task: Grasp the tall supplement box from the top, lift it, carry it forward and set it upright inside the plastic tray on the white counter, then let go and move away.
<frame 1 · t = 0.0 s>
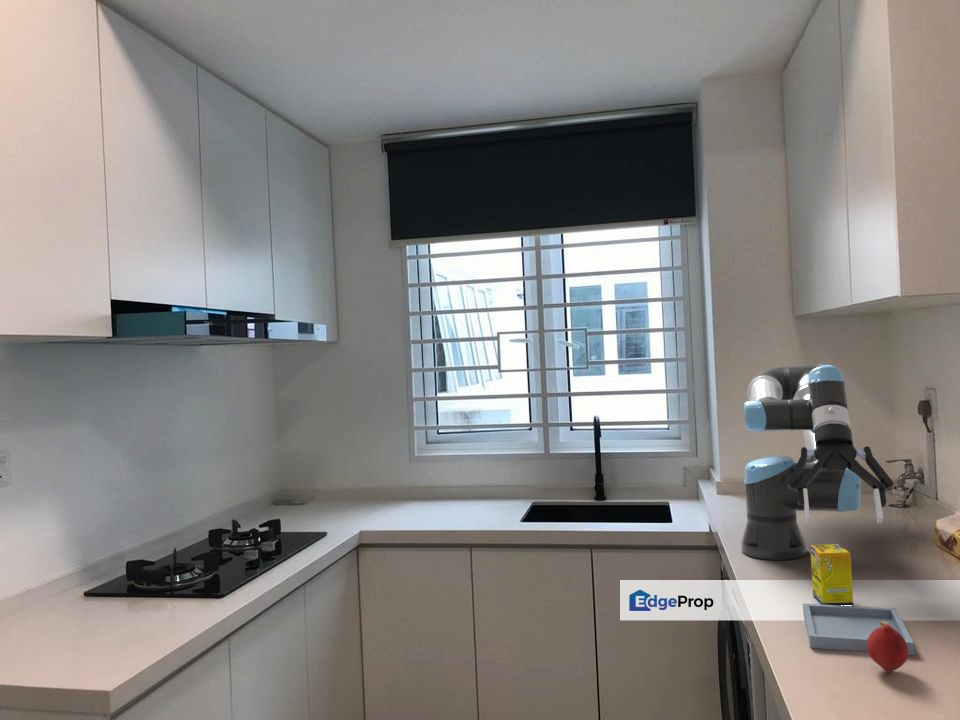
hand: (843, 520, 152), 15 cm above the countertop, tool tilted 35°, fingers open, 13 cm apart
slate tray: (854, 633, 133), on the countertop
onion: (888, 672, 118), on the countertop
supplement box: (832, 602, 149), on the countertop
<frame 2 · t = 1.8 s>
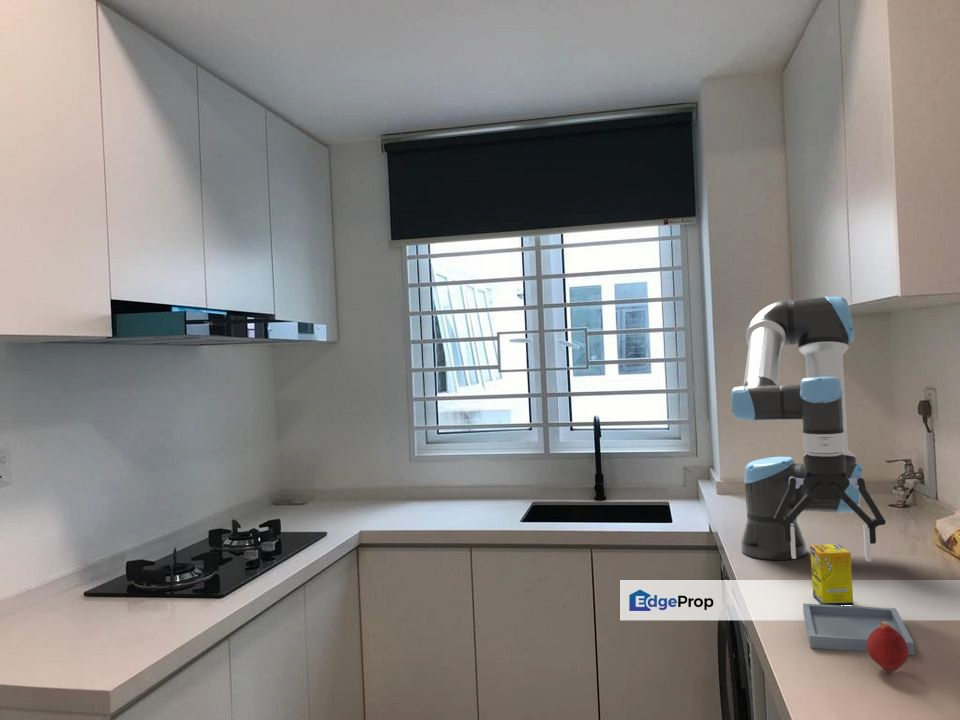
hand: (830, 558, 148), 9 cm above the countertop, tool pointing down, fingers open, 13 cm apart
nothing on the countertop moved.
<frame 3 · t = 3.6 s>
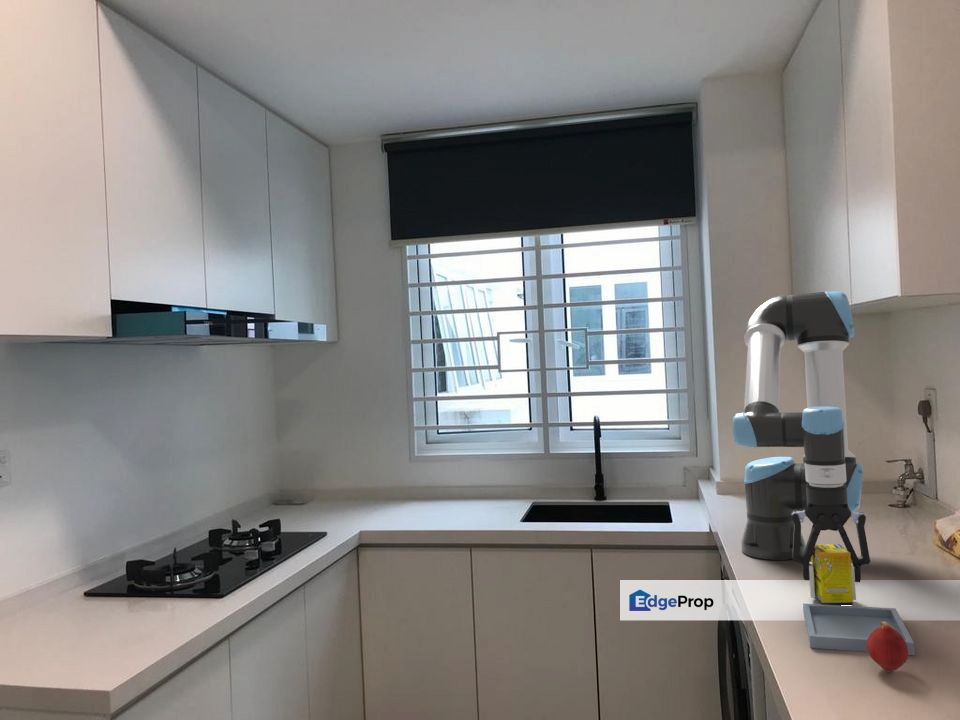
hand: (832, 596, 149), 1 cm above the countertop, tool pointing down, fingers closed on supplement box, 7 cm apart
supplement box: (832, 602, 149), on the countertop, touching gripper
everything else where it was.
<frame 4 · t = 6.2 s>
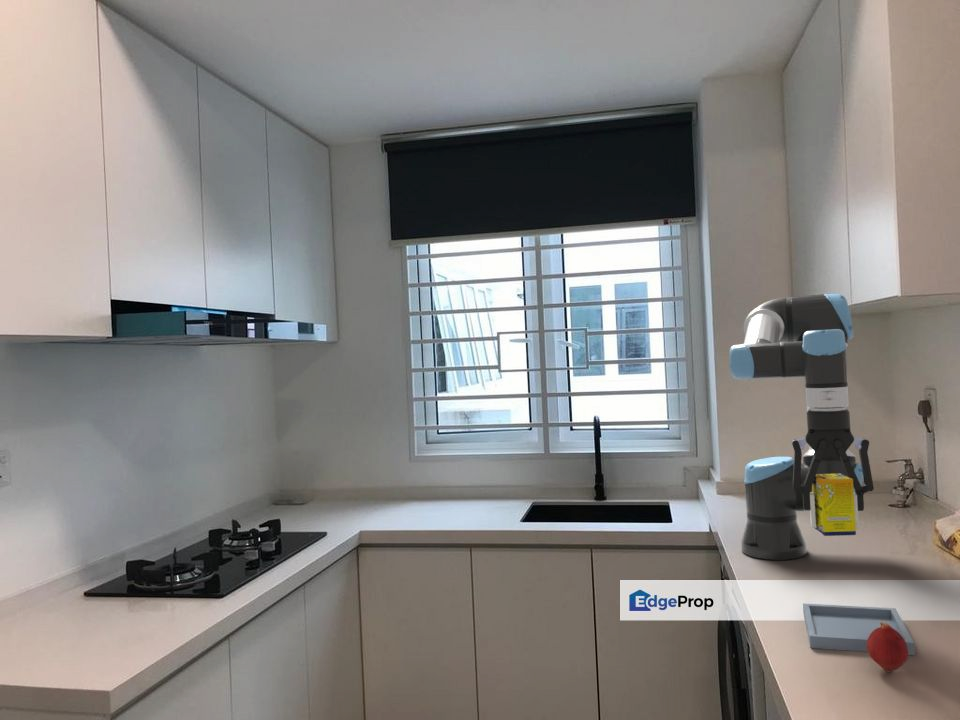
hand: (834, 526, 143), 17 cm above the countertop, tool pointing down, fingers closed on supplement box, 7 cm apart
supplement box: (834, 533, 143), point 16 cm above the countertop, touching gripper
everything else where it was.
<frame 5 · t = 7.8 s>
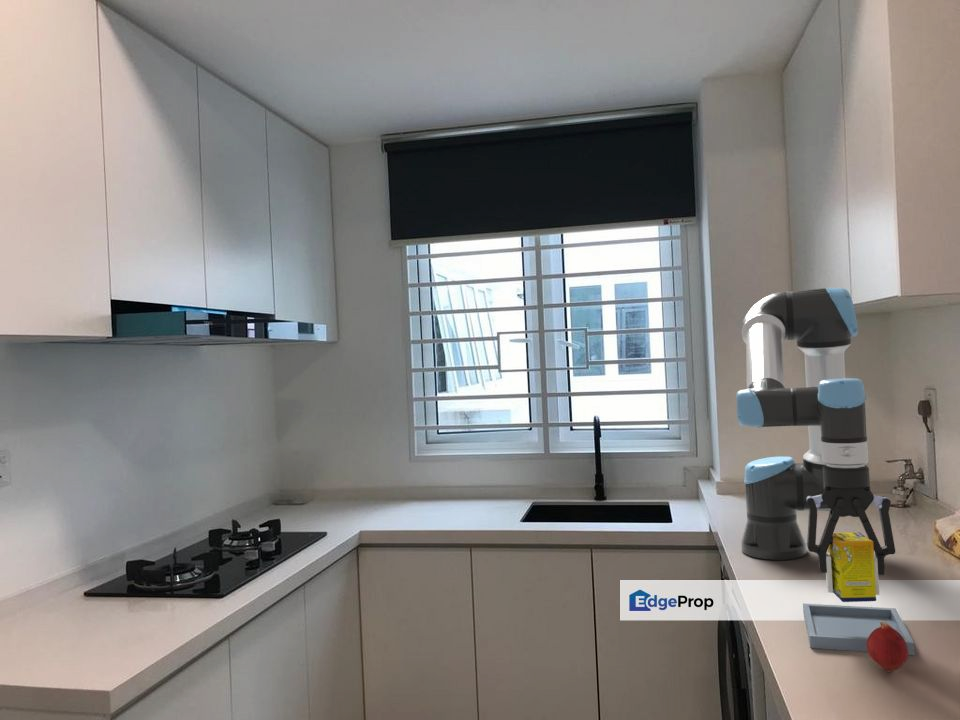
hand: (852, 590, 133), 8 cm above the countertop, tool pointing down, fingers closed on supplement box, 7 cm apart
supplement box: (852, 597, 133), point 7 cm above the countertop, touching gripper
everything else where it was.
when the fingers open (3 cm above the countertop, at t = 8.9 s): supplement box drops 1 cm, resting on slate tray.
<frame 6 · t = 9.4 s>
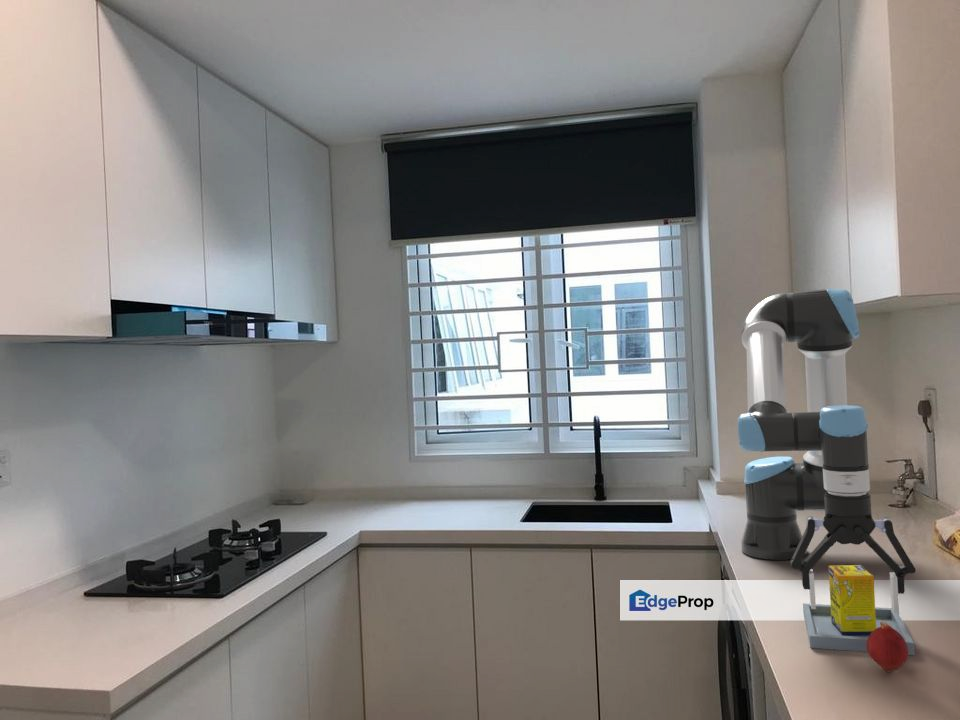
hand: (853, 608, 133), 4 cm above the countertop, tool pointing down, fingers open, 13 cm apart
supplement box: (853, 630, 133), resting on slate tray
everything else where it was.
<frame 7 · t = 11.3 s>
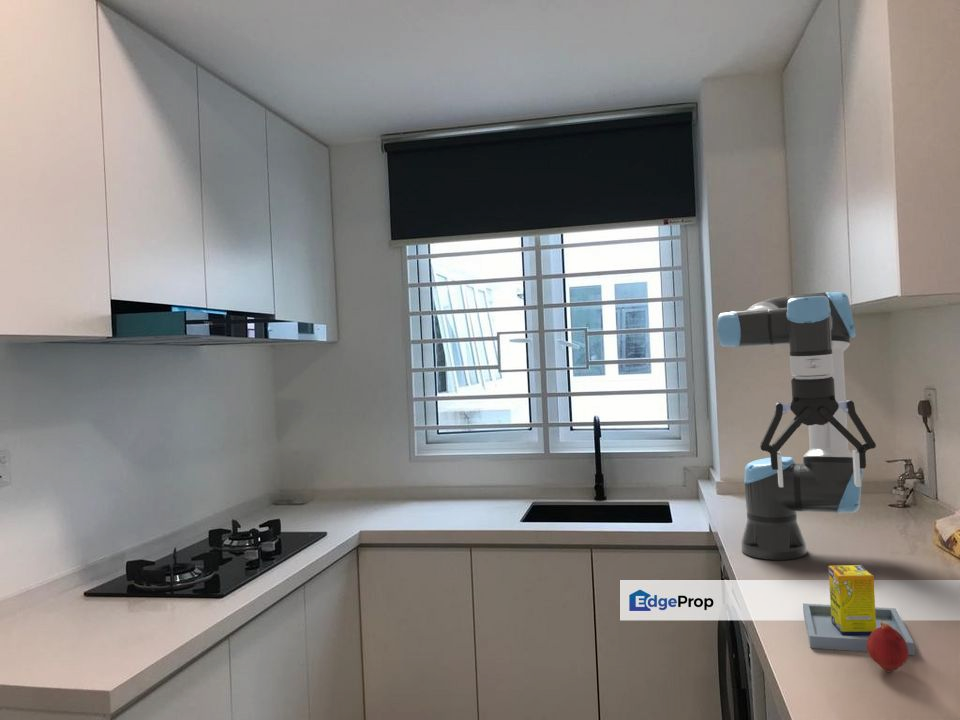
hand: (818, 485, 142), 25 cm above the countertop, tool pointing down, fingers open, 13 cm apart
nothing on the countertop moved.
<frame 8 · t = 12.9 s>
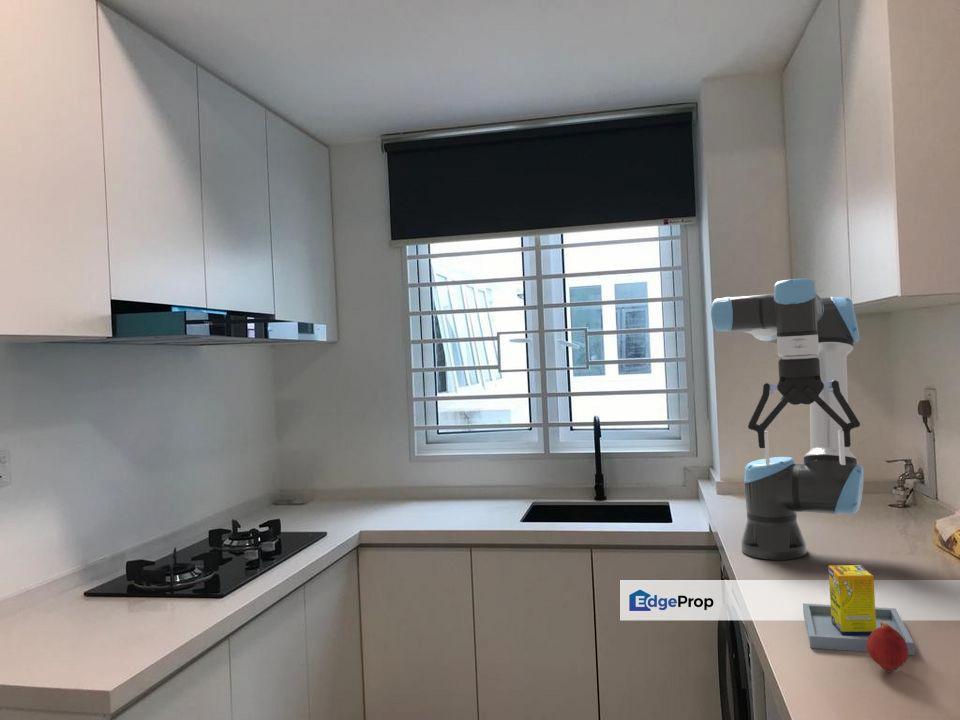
hand: (804, 464, 146), 29 cm above the countertop, tool pointing down, fingers open, 13 cm apart
nothing on the countertop moved.
at the end: supplement box inside the target area on the slate tray (0.2 cm from its centre), point 0.4 cm above the slate tray's base; supplement box tilted 0°; the gripper is holding nothing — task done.
